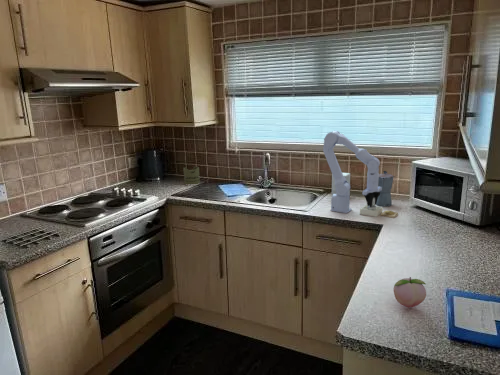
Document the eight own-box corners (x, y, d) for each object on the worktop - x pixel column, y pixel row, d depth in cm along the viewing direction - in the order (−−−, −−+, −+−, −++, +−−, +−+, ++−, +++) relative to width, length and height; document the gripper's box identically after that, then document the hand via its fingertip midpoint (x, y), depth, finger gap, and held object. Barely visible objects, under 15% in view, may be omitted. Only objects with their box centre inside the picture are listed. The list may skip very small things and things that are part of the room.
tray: (359, 214, 206) (360, 208, 205) (365, 209, 213) (366, 204, 212) (376, 217, 201) (376, 211, 200) (382, 212, 208) (382, 207, 207)
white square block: (350, 196, 241) (350, 173, 237) (345, 199, 234) (346, 175, 230) (336, 194, 246) (336, 171, 242) (331, 198, 238) (331, 174, 235)
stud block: (380, 215, 202) (380, 212, 202) (384, 212, 208) (384, 209, 208) (394, 218, 198) (394, 214, 198) (398, 214, 204) (398, 211, 203)
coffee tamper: (373, 210, 203) (374, 199, 202) (365, 209, 206) (366, 197, 205) (377, 209, 206) (378, 197, 205) (369, 207, 209) (370, 195, 208)
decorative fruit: (413, 298, 122) (416, 269, 120) (429, 312, 115) (432, 281, 112) (386, 301, 121) (388, 272, 119) (400, 315, 113) (402, 284, 111)
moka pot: (373, 207, 217) (375, 172, 212) (375, 200, 231) (377, 167, 226) (391, 208, 214) (393, 173, 209) (392, 201, 228) (394, 168, 223)
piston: (182, 167, 288) (197, 166, 292) (183, 183, 291) (198, 181, 295) (184, 170, 278) (200, 168, 281) (185, 186, 281) (201, 184, 284)
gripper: (371, 184, 195) (369, 210, 198) (387, 179, 204) (385, 204, 207) (359, 182, 201) (358, 207, 204) (375, 177, 209) (374, 201, 213)
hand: (371, 205), depth 206 cm, fingers closed on coffee tamper, 3 cm apart
